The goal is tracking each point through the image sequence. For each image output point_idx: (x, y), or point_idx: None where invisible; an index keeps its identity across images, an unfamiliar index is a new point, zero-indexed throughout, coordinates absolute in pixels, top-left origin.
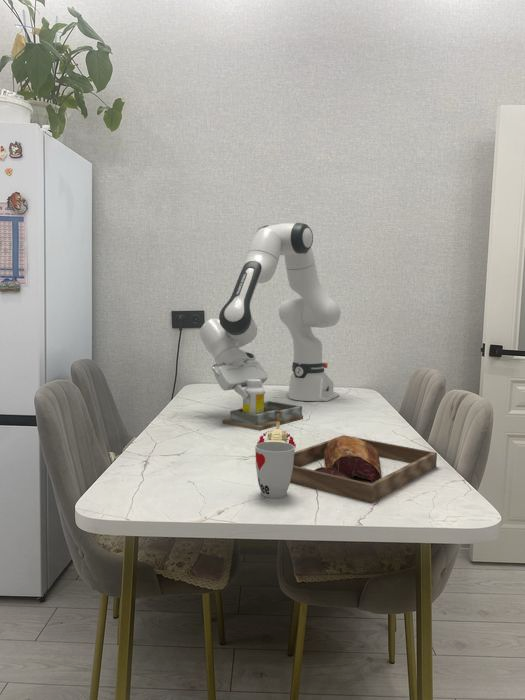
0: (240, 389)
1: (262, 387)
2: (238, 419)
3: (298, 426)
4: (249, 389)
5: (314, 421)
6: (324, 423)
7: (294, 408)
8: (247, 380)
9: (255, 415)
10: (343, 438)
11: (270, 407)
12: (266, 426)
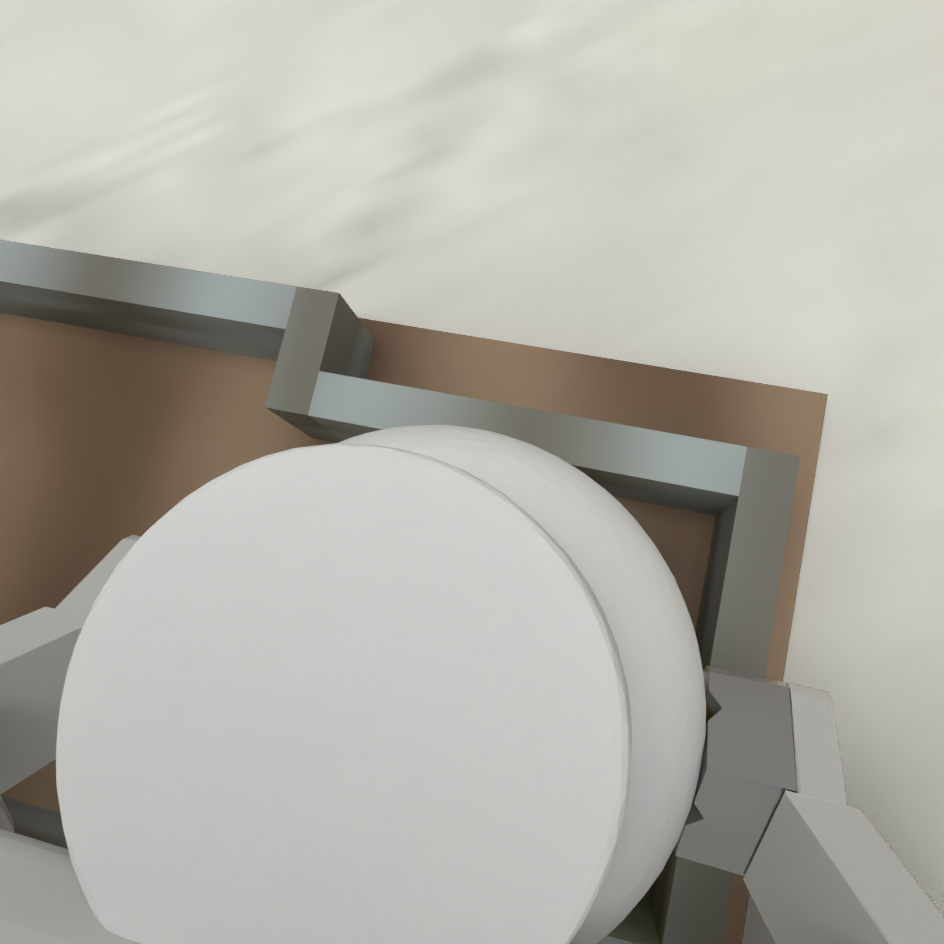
0: (938, 925)
1: (46, 619)
2: None
3: (381, 146)
4: (662, 712)
5: (83, 118)
6: (127, 3)
7: (36, 247)
8: (581, 920)
9: (787, 473)
10: None
11: None
12: (684, 374)
